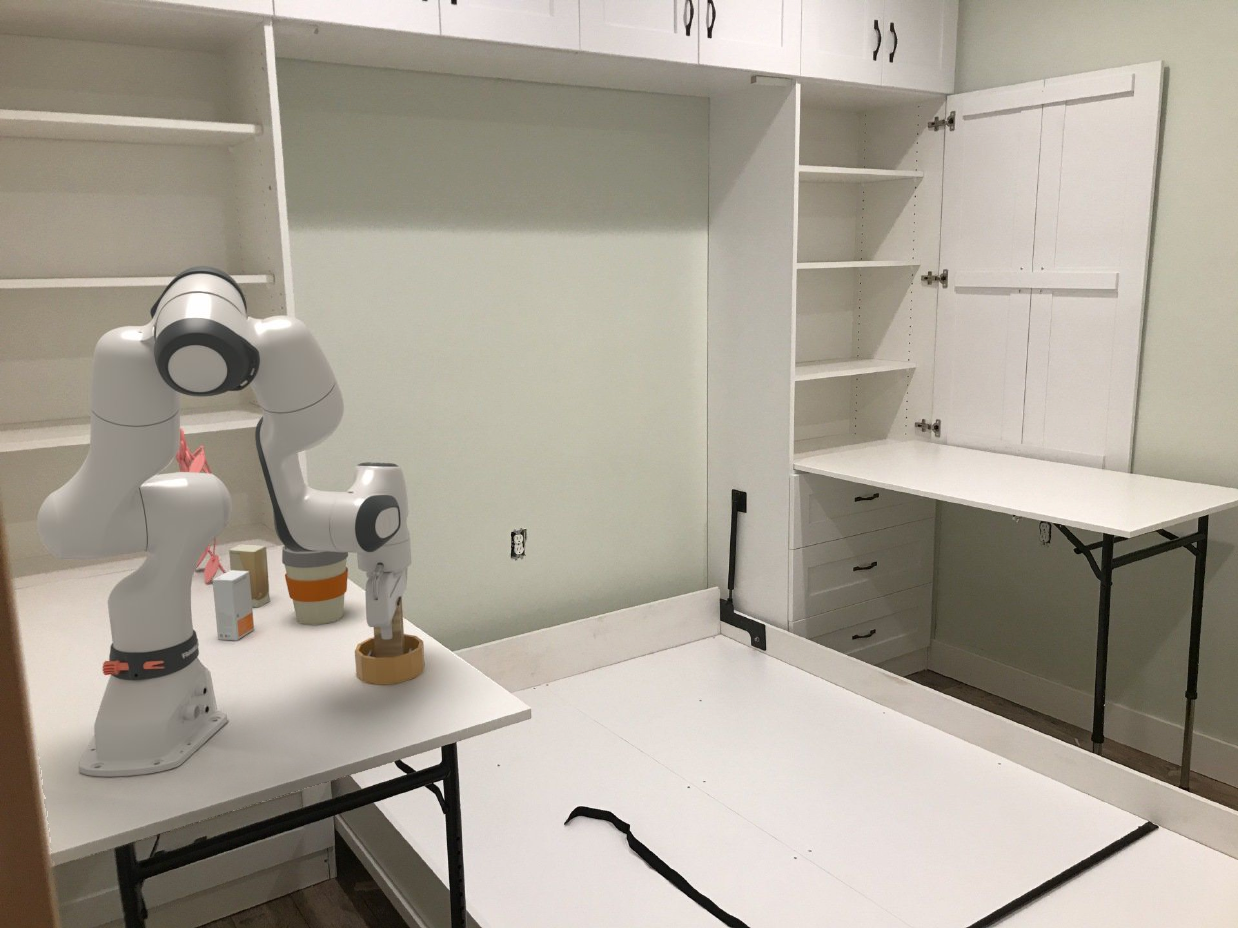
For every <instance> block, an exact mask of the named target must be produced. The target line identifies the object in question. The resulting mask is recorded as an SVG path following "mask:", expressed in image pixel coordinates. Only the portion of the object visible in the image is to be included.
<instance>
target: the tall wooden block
mask: <svg viewBox="0 0 1238 928" xmlns="http://www.w3.org/2000/svg"><path fill="white" fill-rule="evenodd" d="M377 600H378V599H377ZM403 611H404V610H403V596H400V597H399V599H398V601H397V609H396V611H395V614H394V616H393V618H392V626H393V636H392V638H391V639H382V637H381V629H380V627H373V637H374V642H375V657H376V658H382V657H395V656H399V655H403V654H404V652H405V644H404V634H405V630H404V612H403Z"/></svg>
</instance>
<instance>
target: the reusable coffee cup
mask: <svg viewBox="0 0 1238 928" xmlns="http://www.w3.org/2000/svg"><path fill="white" fill-rule="evenodd" d="M281 550H282V552H281V553H282V555H281V556H282V557H281V561H282V564H283V565H284V568H285V575H284V578H285V582H286V587H287V591H288V596H289V598H290V599H291V600H292V602H293V607H294V612H295V616H296V620H297V622H298V623H299V624H302V625H309V626H310V625H313V626H314V625H315V626H316V625H325V624H330V623H333V622H336V621H338V620H340V619H341V618H343V616H344V611H345V609H344V607H345V593H346V592H347V591H348V574H349V569H348V567H347V558H348V556H349V552H327V551H310V552H294V551H291V550H289V549H288V548H287V547H286V546H285V545H284V544H283V546H282V548H281Z"/></svg>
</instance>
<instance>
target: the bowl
mask: <svg viewBox="0 0 1238 928" xmlns="http://www.w3.org/2000/svg"><path fill="white" fill-rule="evenodd" d="M404 644H405V652H404V654H403V655H399V656H395V657H382V658H376V657H375V642H374V636H372V637H369V638H367V639H365V640H363V641H361V642H360V643H357V646H356V647H355V649H354V659H355V672H356V677H358V679H359V680H361V681H362V682H365V683H369V684H373V685H392V684H398V683H403V682H406V681H410V680H412V679H414V678H416V677H417V676H419V675H421V674H422V673H423V672H424V669H425V667H426V666H425V665H426V663H425V648H424V647H425V646H424V640H422V638H420V637H418V636H417V635H413V634H409V633H408V634H406V633H404ZM410 648H412V651H411V652H409V650H410ZM370 650H372V656H373V657H370V656H368V653H369V651H370Z"/></svg>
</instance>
